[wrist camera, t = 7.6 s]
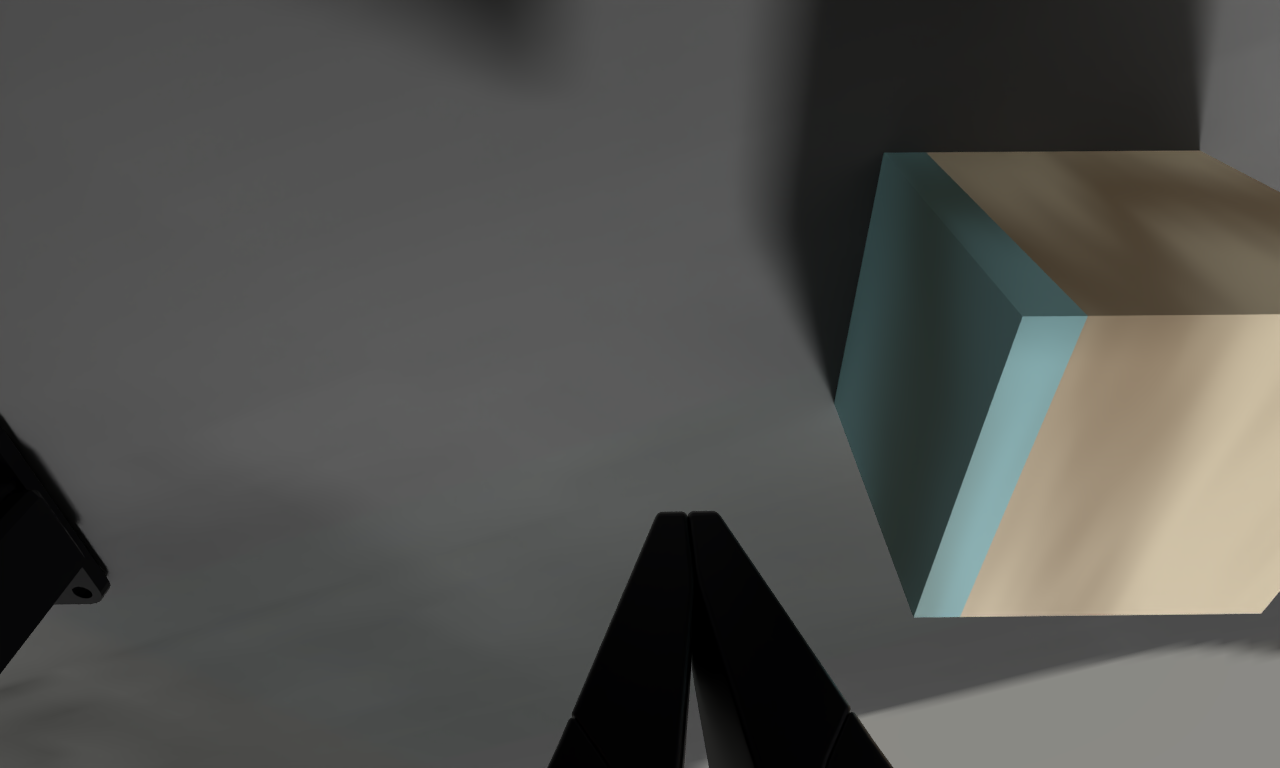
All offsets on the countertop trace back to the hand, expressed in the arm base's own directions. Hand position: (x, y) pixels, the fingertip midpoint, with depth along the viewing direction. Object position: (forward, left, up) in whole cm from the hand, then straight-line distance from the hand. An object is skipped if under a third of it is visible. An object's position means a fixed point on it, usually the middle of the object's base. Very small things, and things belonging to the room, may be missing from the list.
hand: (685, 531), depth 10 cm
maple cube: (+4, 0, -4) cm, 5 cm away
